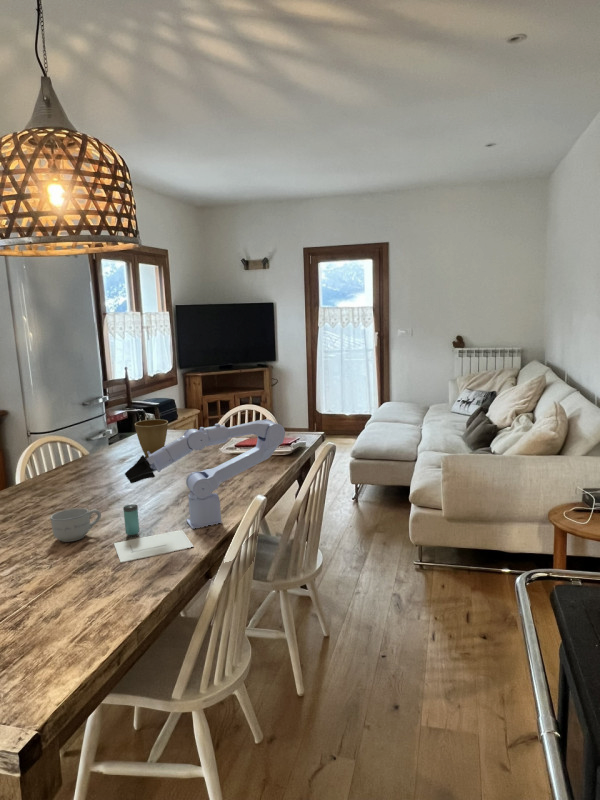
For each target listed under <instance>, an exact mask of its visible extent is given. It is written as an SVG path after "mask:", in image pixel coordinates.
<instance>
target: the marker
mask: <svg viewBox="0 0 600 800" xmlns="http://www.w3.org/2000/svg"><path fill="white" fill-rule="evenodd" d="M138 508H139V507H138V504H127V505H124V506H123V507H122V509H123V518H124V529H125V530H124V531H125V534H126V535H127V537H128V538H136V537H138V536H137V535H139V533H140V523H139V522H140V521H139V509H138ZM135 536H136V537H135Z"/></svg>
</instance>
